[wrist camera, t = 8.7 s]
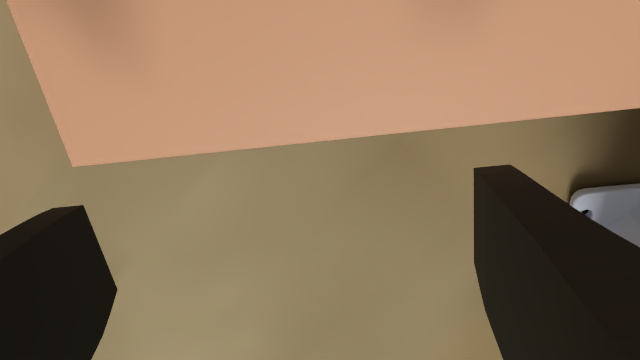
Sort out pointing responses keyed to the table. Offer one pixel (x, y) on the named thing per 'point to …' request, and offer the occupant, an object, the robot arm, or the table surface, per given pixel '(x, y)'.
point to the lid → (317, 68)
